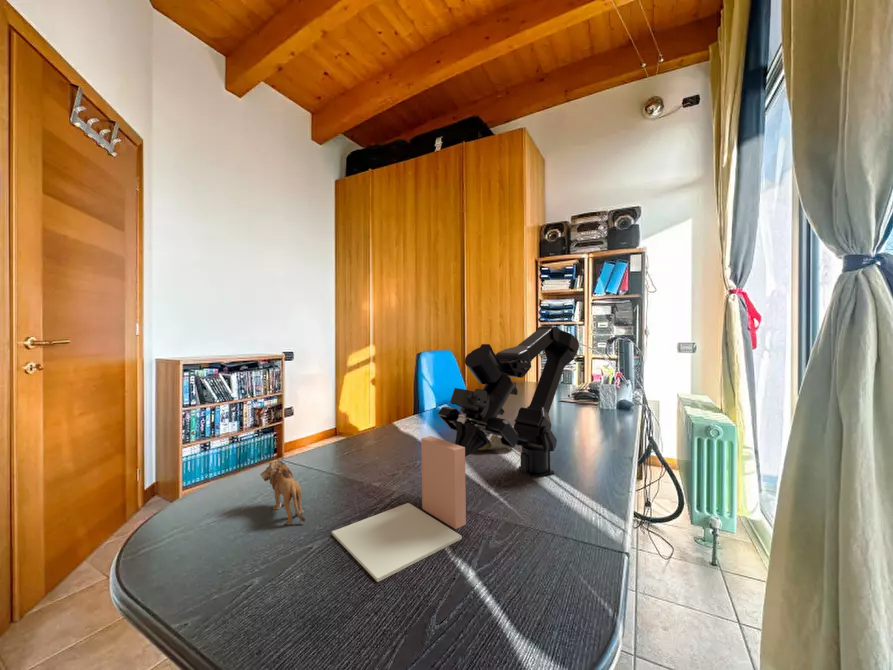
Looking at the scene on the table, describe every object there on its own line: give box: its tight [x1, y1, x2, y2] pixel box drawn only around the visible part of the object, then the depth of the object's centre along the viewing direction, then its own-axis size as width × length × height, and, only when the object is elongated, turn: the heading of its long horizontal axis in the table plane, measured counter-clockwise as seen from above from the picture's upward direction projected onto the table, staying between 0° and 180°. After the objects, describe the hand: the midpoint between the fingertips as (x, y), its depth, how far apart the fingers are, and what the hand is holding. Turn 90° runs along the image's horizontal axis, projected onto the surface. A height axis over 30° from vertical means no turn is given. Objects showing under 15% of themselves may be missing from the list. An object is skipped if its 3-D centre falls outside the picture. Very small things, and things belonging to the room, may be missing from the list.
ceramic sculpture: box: [477, 425, 514, 451], centre depth 108 cm, size 11×9×15 cm
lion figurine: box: [259, 459, 307, 526], centre depth 71 cm, size 15×5×9 cm, turn 49°
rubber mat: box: [331, 502, 463, 583], centre depth 61 cm, size 16×16×1 cm
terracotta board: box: [420, 435, 467, 530], centre depth 68 cm, size 2×10×14 cm, turn 40°
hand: (454, 460), depth 70 cm, fingers closed
